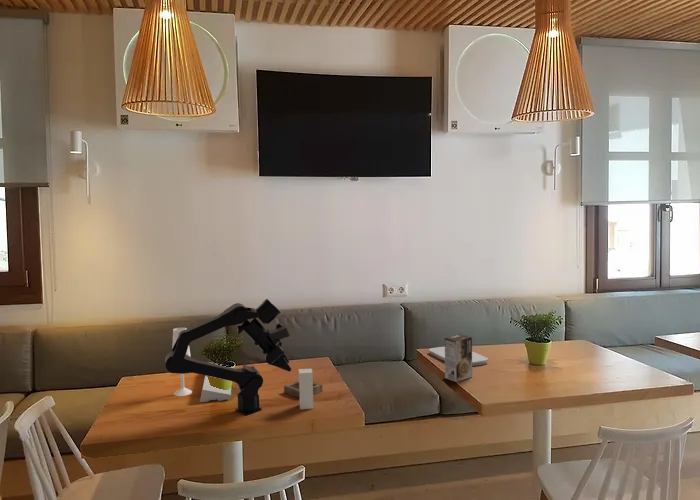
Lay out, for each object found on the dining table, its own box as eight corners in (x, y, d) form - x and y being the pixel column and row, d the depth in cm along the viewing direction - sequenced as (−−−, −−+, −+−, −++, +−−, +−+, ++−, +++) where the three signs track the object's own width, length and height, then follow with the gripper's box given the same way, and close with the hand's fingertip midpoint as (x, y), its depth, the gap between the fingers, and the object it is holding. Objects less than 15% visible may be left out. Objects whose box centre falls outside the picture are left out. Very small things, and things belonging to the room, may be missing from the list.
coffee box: (460, 373, 225) (460, 333, 223) (472, 377, 220) (472, 336, 218) (444, 378, 220) (443, 337, 218) (456, 382, 214) (456, 340, 213)
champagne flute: (172, 396, 205) (169, 331, 203) (174, 390, 212) (171, 327, 210) (191, 395, 207) (188, 330, 204) (193, 389, 213) (190, 326, 211)
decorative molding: (229, 377, 235) (205, 373, 233) (232, 366, 234) (208, 362, 232) (227, 407, 201) (199, 402, 199) (230, 394, 201) (202, 389, 199)
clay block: (300, 409, 190) (299, 373, 189) (299, 404, 195) (298, 369, 194) (313, 408, 191) (312, 372, 190) (312, 403, 195) (311, 368, 194)
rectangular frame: (302, 398, 200) (302, 392, 200) (284, 392, 207) (283, 386, 207) (322, 391, 208) (322, 384, 207) (304, 385, 214) (303, 379, 214)
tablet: (457, 369, 231) (457, 364, 231) (426, 353, 255) (426, 348, 255) (490, 364, 237) (490, 359, 236) (457, 349, 261) (457, 344, 261)
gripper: (278, 323, 181) (310, 357, 184) (274, 312, 199) (304, 344, 202) (251, 346, 180) (284, 381, 183) (250, 333, 198) (280, 365, 201)
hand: (289, 366), depth 192 cm, fingers open, 9 cm apart
